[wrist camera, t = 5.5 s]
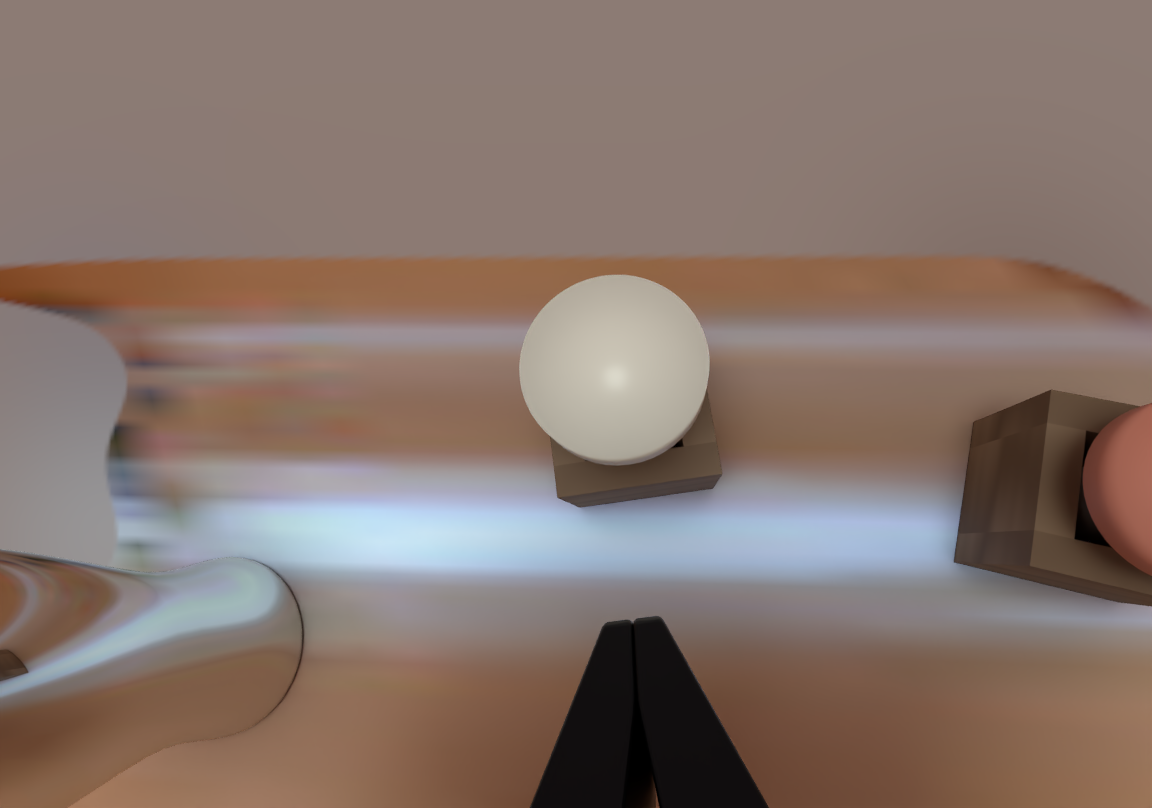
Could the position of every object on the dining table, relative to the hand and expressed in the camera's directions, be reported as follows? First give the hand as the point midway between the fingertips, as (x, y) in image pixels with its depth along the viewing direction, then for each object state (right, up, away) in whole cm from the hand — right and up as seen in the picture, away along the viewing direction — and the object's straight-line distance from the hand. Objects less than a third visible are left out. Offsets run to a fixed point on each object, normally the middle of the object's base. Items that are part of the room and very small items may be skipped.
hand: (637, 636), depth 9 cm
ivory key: (+1, +3, +10) cm, 10 cm away
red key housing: (+14, 0, +11) cm, 17 cm away
